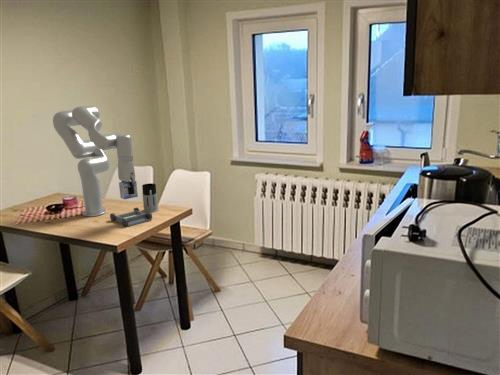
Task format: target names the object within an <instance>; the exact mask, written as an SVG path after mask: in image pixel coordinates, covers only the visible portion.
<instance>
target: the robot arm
mask: <svg viewBox="0 0 500 375" xmlns="http://www.w3.org/2000/svg"><path fill="white" fill-rule="evenodd" d="M100 117H101V116H100V112H99V109H98V108H97V107H96V106H94V105H81V106H77V107H75V108H73V109H72V110H61V111H58V112H56V113H55V114H54V115H53V117H52V124H53V128H54V129H55V132H56V133H57V134H58V135H59V137H61V139H62V140H63V142H64V144H65V145H66V147H67V148H68V150H69V151H70V153H71V155H72V156H73V158H74V159H77V160H78V159H79V160H80V161H78V164H77V171H78V173H79V177H80V181H81V189H82V196H83V203H84V211H83V212H82V216H83V217H97V216H101V215H102V216H103V215H104V214H106V213H107V210H106V208H104V205H103V199H102V198H103V197H102V188H101V187H102V186H101V182H100V179H99V178H98V176H97V174H102V173H105V172H107V171H108V170H109V169H110V162H109V159H108V157H107V156H106V154H105V153H104V151H108V150H114V149H115V150H116V154H117V162H118V163H117V173H118V174H117V177H118V180H119V181H120V182H124V181H125V182H128V194H129V195H131V194H134V184H135V182H137V181H136V172H135V166H134V153H133V144H132V137H131V135H129V134H121V133H112V134H111V133H110V134H106V135H105V134H104V135H103V134H101V133H100V132H99V131H100V130H101V128H102V126H103V123H102V120H101V119H100ZM73 126H81V127H83V128H84V129H85V130H86V131H87V133H88V137H89V139H88V140H84V139H82V138H81V136H80V135H79V133H78V132H77V131H76V130H75V129H73V128H72V127H73ZM130 180H131V181H130ZM130 182H131V183H130Z"/></svg>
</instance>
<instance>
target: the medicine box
mask: <svg viewBox="0 0 500 375" xmlns="http://www.w3.org/2000/svg"><path fill="white" fill-rule="evenodd" d="M130 181H131V180H130ZM130 183H131V182H130ZM137 183H138V182H137V181H136V182H135V184H134V194H131V195H129V194H128V182H125V181H124V182H121V181H120V182H118V187H119V196H120V199H122V200H129V199H135V198H137V197H138V198H139V196H138V194H139V193H138V184H137Z"/></svg>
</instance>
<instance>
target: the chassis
mask: <svg viewBox="0 0 500 375" xmlns="http://www.w3.org/2000/svg"><path fill="white" fill-rule="evenodd" d="M109 219H110V220H111V222H117V223H119V224H121V225H122V226H123V227H132V226H136V225H139V224H144V223H147V222H151V220H152V219H153V213H150V212H148V213H146V212H143V211H140V209H139V207H134V208H133V211H130V212H129V211H128V212H125V213H122V214H117V215H116V213H114V212H113V213H110V214H109Z"/></svg>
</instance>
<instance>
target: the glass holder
mask: <svg viewBox="0 0 500 375" xmlns="http://www.w3.org/2000/svg"><path fill="white" fill-rule="evenodd" d="M141 187H142V201H143V202H142V203H143V211H142V212H143V213H145V214H146V213H148V212H150V213H151V214H153V213H156V212H159V210H160V209H159V207H158V194H157V184H156V183H145V184H142V185H141Z"/></svg>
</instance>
